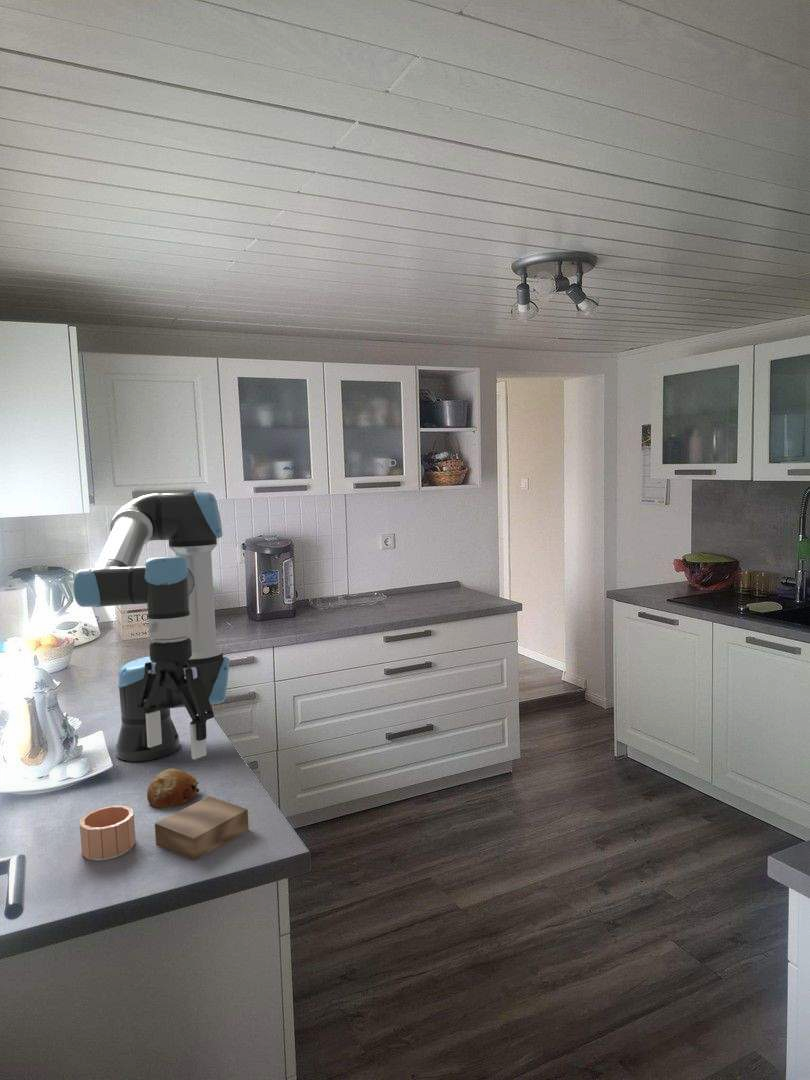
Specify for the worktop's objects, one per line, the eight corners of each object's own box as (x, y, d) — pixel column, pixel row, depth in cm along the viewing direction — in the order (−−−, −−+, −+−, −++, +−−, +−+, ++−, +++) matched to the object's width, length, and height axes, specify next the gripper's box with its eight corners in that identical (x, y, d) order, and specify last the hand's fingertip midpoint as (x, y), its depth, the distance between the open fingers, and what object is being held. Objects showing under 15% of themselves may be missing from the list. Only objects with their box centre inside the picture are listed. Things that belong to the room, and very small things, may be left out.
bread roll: (168, 803, 159) (151, 772, 158) (208, 783, 158) (191, 752, 158) (151, 825, 149) (132, 792, 148) (194, 804, 148) (175, 771, 148)
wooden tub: (116, 830, 139) (114, 801, 139) (145, 843, 134) (143, 812, 134) (71, 852, 132) (69, 821, 131) (101, 866, 127) (98, 834, 126)
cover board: (210, 817, 145) (209, 796, 144) (248, 831, 138) (247, 809, 138) (156, 846, 134) (154, 823, 133) (195, 862, 128) (193, 838, 127)
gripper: (114, 637, 138) (120, 746, 139) (195, 647, 123) (202, 768, 124) (148, 631, 144) (154, 735, 145) (229, 640, 129) (235, 755, 130)
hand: (176, 751), depth 134 cm, fingers open, 13 cm apart
